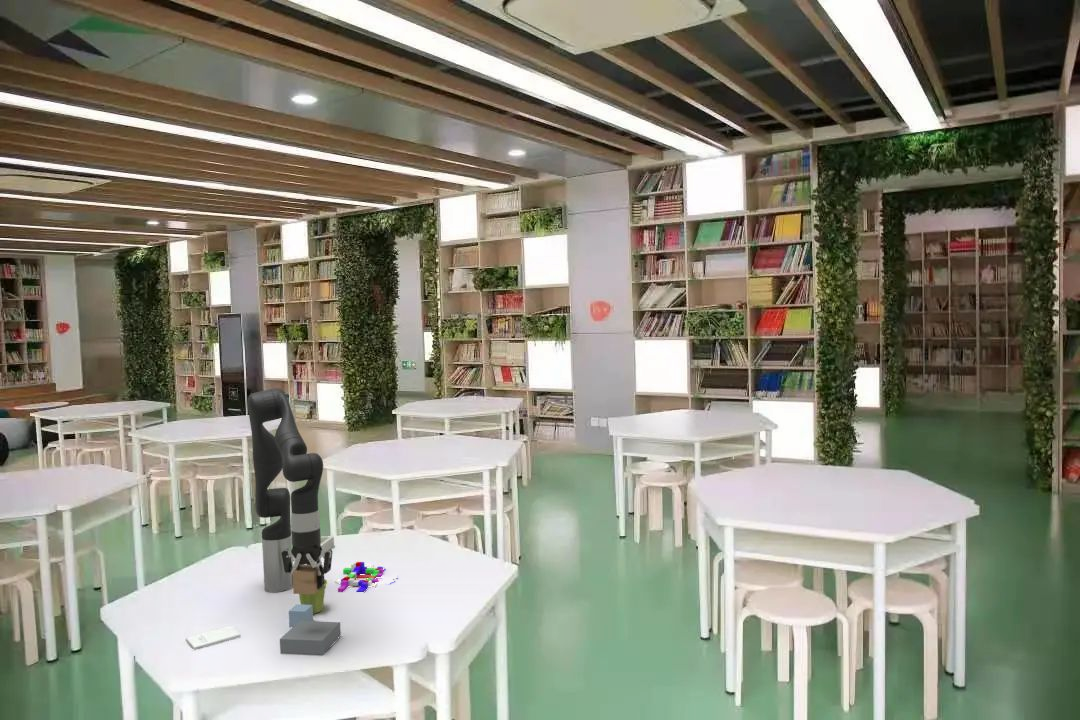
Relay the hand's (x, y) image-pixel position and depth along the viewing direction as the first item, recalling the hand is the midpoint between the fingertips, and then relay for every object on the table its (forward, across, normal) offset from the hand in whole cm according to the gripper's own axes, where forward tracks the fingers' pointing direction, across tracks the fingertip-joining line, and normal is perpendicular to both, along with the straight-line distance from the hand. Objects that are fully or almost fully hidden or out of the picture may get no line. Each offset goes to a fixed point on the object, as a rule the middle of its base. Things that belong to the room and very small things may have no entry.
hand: (308, 587), depth 210 cm
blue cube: (+16, +9, -13) cm, 23 cm away
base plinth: (+16, 0, 0) cm, 16 cm away
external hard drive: (+17, +30, -1) cm, 34 cm away
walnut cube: (+1, 0, 0) cm, 1 cm away
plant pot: (+16, +10, -23) cm, 30 cm away
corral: (+16, +38, -76) cm, 86 cm away
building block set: (+17, +3, -51) cm, 54 cm away
